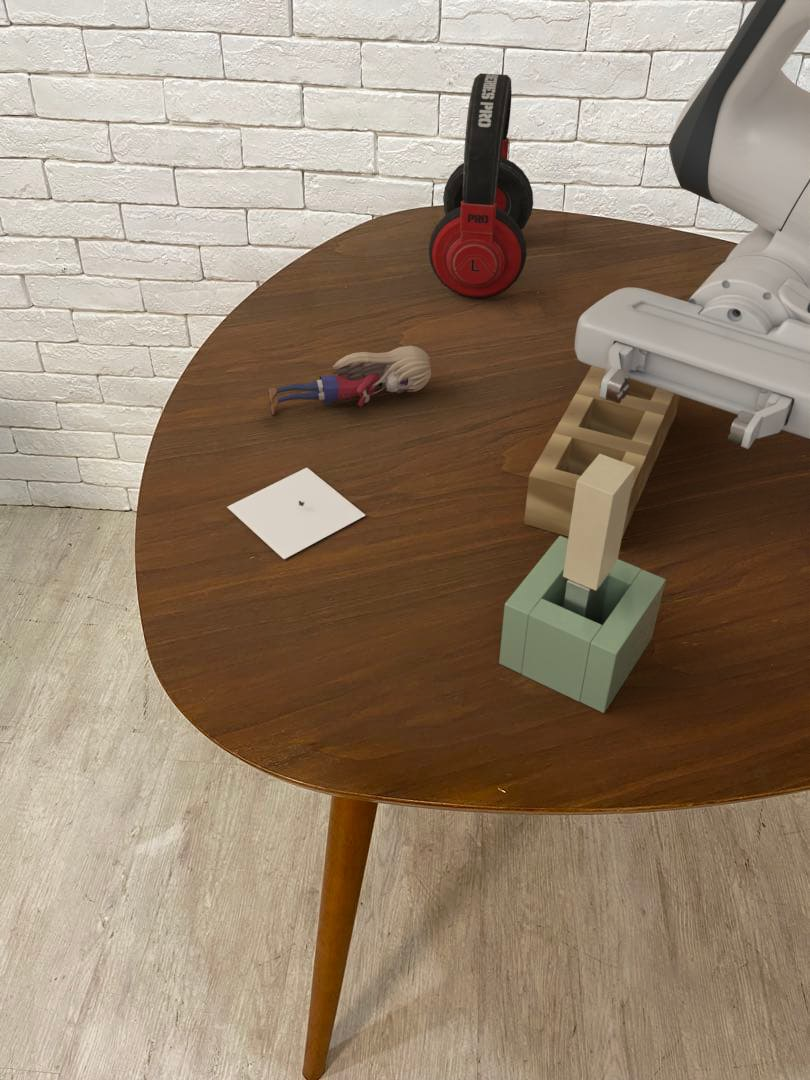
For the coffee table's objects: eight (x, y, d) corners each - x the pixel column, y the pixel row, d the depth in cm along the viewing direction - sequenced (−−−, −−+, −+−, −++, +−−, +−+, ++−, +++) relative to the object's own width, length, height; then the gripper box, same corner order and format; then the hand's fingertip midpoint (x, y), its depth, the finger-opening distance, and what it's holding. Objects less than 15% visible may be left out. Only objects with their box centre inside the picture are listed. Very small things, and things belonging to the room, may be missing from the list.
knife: (602, 642, 74) (637, 464, 63) (580, 674, 72) (612, 496, 61) (572, 628, 75) (601, 451, 64) (549, 660, 73) (574, 482, 62)
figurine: (270, 402, 90) (439, 370, 92) (261, 358, 91) (428, 328, 93) (274, 431, 96) (434, 400, 98) (265, 389, 97) (423, 360, 99)
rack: (594, 395, 97) (601, 348, 93) (675, 415, 94) (685, 368, 91) (523, 524, 84) (528, 475, 80) (616, 550, 81) (626, 501, 78)
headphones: (520, 313, 107) (538, 116, 94) (424, 305, 109) (428, 109, 95) (530, 234, 120) (547, 51, 107) (444, 228, 121) (450, 46, 108)
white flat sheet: (226, 507, 85) (225, 499, 84) (306, 467, 89) (306, 460, 88) (283, 559, 80) (283, 552, 80) (365, 515, 84) (365, 507, 83)
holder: (652, 638, 74) (666, 578, 70) (603, 714, 70) (616, 654, 66) (551, 594, 78) (559, 534, 74) (498, 663, 73) (504, 603, 69)
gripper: (623, 251, 82) (541, 329, 74) (890, 327, 74) (833, 425, 66) (612, 321, 86) (533, 403, 78) (863, 401, 78) (806, 502, 70)
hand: (672, 414), depth 72 cm, fingers open, 8 cm apart
